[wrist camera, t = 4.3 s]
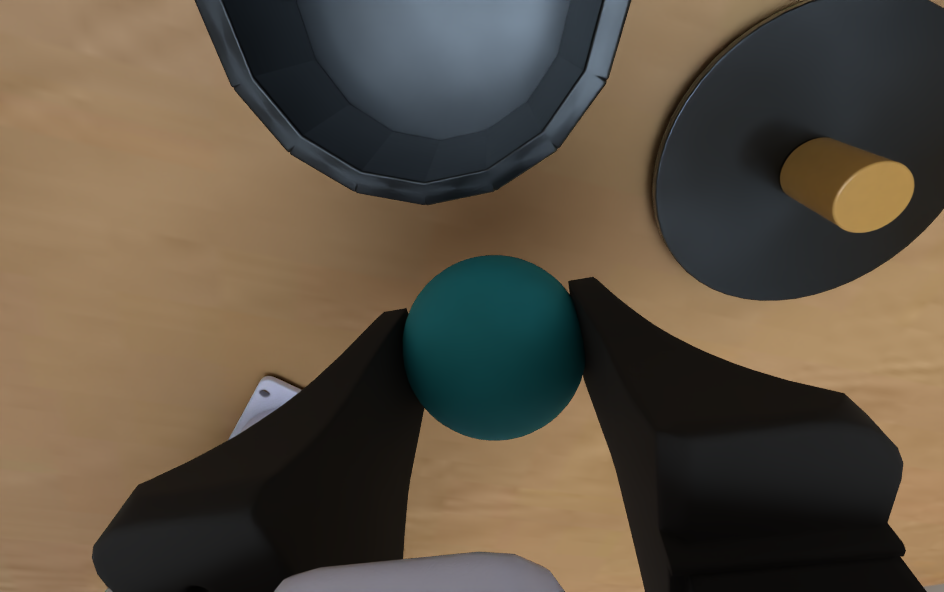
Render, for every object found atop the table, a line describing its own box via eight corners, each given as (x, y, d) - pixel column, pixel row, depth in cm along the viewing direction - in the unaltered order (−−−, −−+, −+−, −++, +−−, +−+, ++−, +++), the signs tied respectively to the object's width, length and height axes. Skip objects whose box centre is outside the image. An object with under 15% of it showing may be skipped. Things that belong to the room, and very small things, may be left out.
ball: (511, 384, 15) (518, 507, 12) (387, 317, 14) (350, 429, 10) (605, 280, 13) (651, 388, 10) (470, 195, 12) (461, 276, 8)
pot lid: (778, 329, 23) (836, 392, 20) (589, 202, 21) (612, 246, 17) (1028, 116, 18) (1173, 144, 15) (823, -92, 16) (936, -127, 12)
